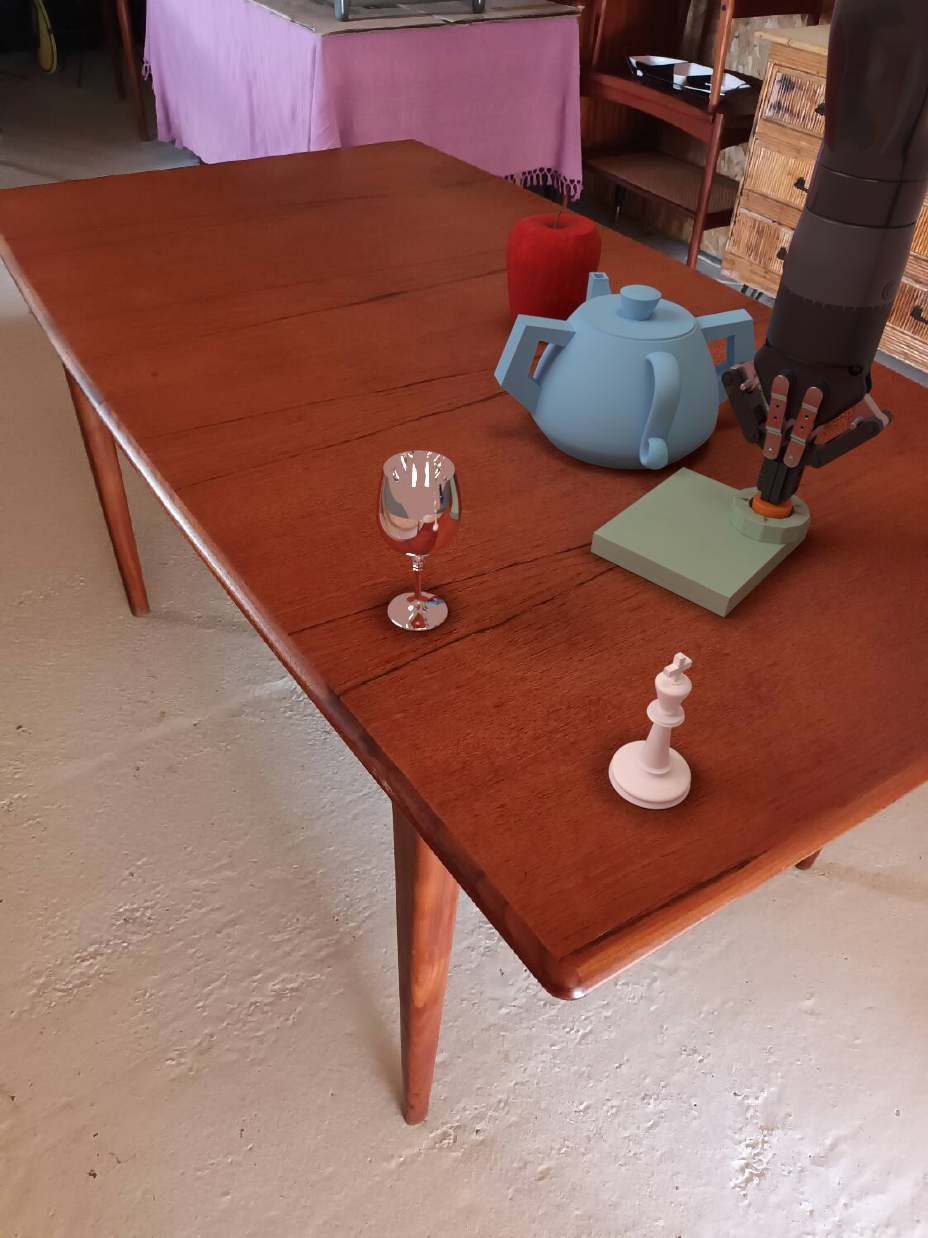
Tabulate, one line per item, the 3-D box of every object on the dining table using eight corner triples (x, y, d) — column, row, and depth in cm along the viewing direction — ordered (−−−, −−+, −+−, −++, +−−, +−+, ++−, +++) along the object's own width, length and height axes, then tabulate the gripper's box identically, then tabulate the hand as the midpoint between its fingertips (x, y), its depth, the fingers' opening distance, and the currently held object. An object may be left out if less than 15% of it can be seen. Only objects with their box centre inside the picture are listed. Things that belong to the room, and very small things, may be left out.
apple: (561, 308, 113) (574, 190, 104) (607, 340, 106) (625, 217, 97) (485, 320, 109) (492, 199, 100) (527, 355, 102) (539, 227, 93)
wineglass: (420, 577, 70) (421, 437, 63) (473, 613, 67) (482, 470, 60) (361, 609, 67) (356, 465, 59) (414, 648, 64) (416, 502, 56)
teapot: (747, 428, 91) (783, 288, 82) (652, 509, 79) (682, 356, 70) (582, 371, 100) (599, 239, 91) (475, 436, 88) (482, 292, 79)
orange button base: (809, 541, 76) (822, 505, 74) (729, 620, 68) (740, 582, 66) (679, 485, 82) (686, 450, 80) (590, 551, 74) (596, 515, 72)
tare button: (794, 515, 74) (799, 499, 73) (777, 530, 73) (782, 514, 72) (760, 501, 76) (764, 485, 75) (743, 516, 74) (747, 499, 73)
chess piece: (707, 787, 56) (746, 665, 49) (647, 822, 53) (680, 700, 47) (650, 736, 59) (680, 615, 52) (591, 767, 56) (615, 646, 50)
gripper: (956, 293, 61) (871, 512, 72) (773, 244, 68) (721, 452, 79) (916, 325, 57) (832, 552, 68) (724, 269, 63) (676, 486, 74)
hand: (773, 498), depth 73 cm, fingers closed
